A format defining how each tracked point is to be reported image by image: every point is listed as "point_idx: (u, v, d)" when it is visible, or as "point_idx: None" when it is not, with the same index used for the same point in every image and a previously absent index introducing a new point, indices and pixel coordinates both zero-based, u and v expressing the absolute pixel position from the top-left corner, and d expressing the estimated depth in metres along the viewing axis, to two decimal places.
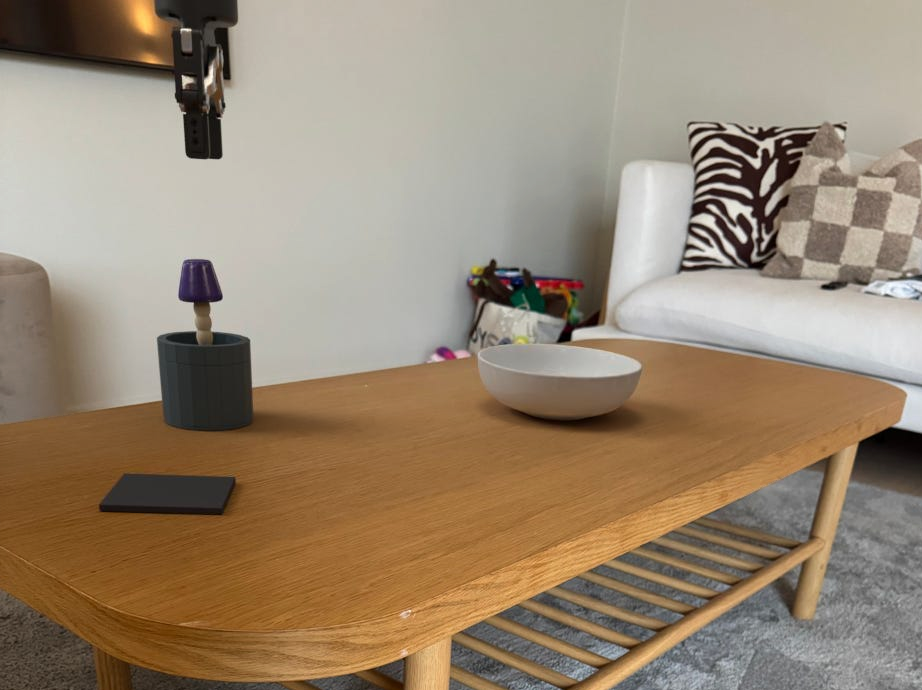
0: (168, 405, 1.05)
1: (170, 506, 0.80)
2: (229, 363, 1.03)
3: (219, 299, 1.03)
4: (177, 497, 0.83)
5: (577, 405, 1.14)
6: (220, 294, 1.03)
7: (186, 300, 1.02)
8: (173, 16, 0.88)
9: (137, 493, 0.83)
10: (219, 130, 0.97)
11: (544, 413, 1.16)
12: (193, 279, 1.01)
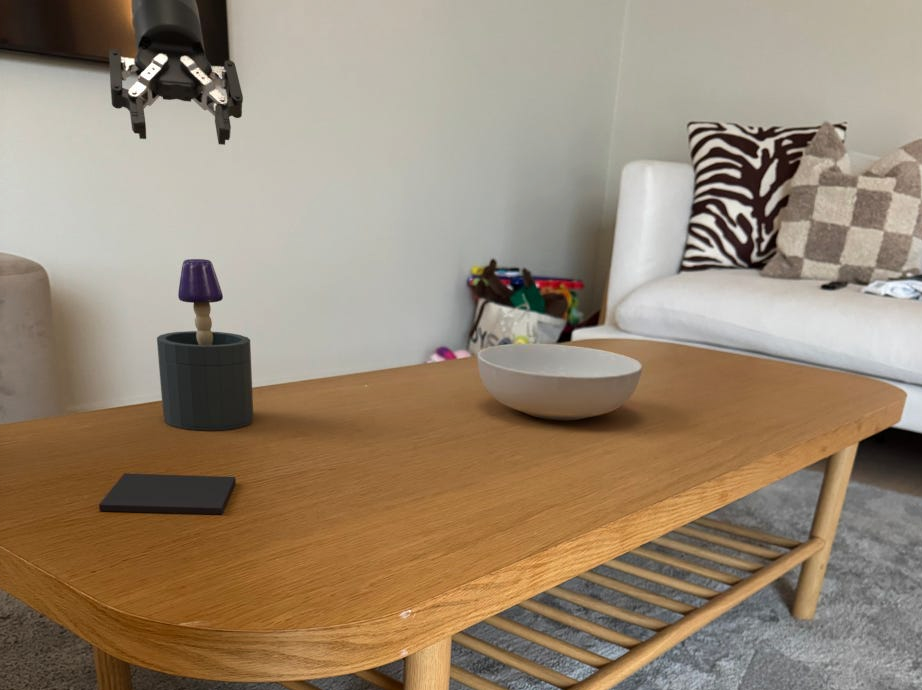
0: (168, 405, 1.05)
1: (170, 506, 0.80)
2: (229, 363, 1.03)
3: (219, 299, 1.03)
4: (177, 497, 0.83)
5: (577, 405, 1.14)
6: (220, 294, 1.03)
7: (186, 300, 1.02)
8: (192, 44, 1.09)
9: (137, 493, 0.83)
10: None
11: (544, 413, 1.16)
12: (193, 279, 1.01)
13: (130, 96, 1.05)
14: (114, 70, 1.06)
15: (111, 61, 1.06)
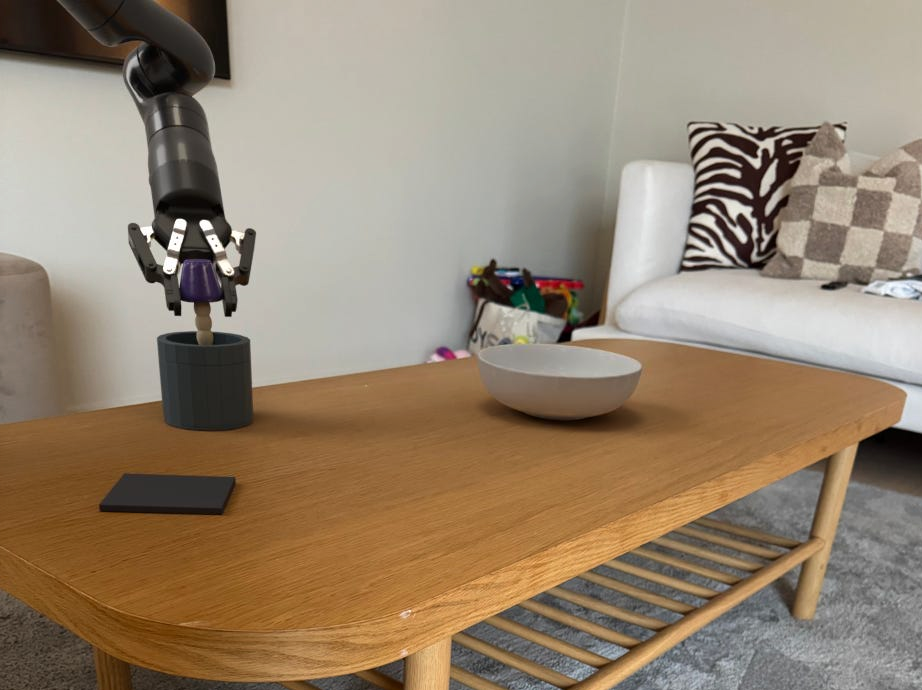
0: (168, 405, 1.05)
1: (170, 506, 0.80)
2: (229, 363, 1.03)
3: (219, 299, 1.03)
4: (177, 497, 0.83)
5: (577, 405, 1.14)
6: (220, 294, 1.03)
7: (186, 300, 1.02)
8: (211, 206, 1.05)
9: (137, 493, 0.83)
10: None
11: (544, 413, 1.16)
12: (193, 279, 1.01)
13: (165, 273, 1.01)
14: (141, 246, 1.01)
15: (134, 237, 1.01)
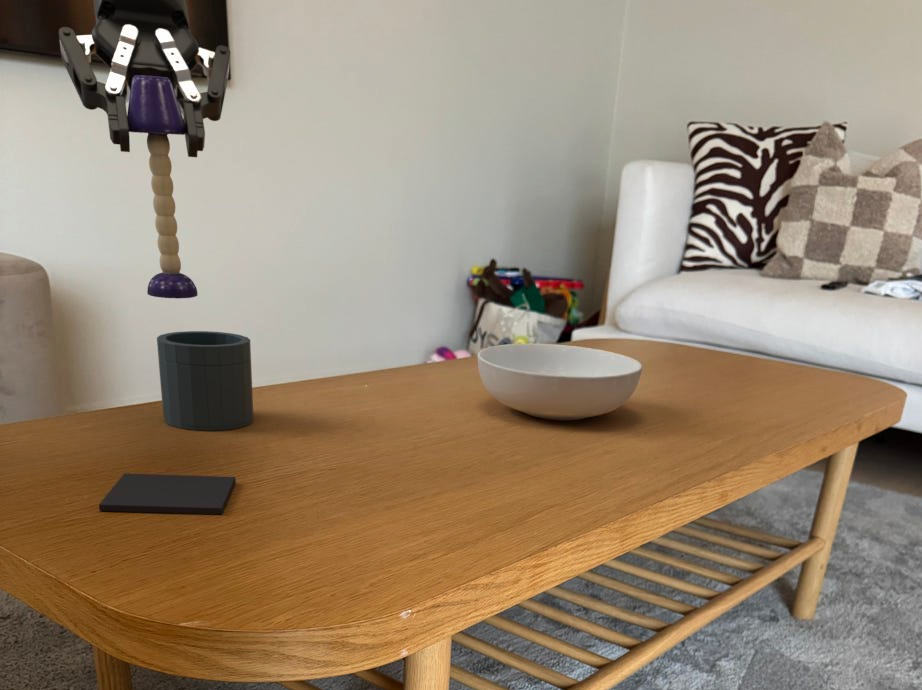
0: (168, 405, 1.05)
1: (170, 506, 0.80)
2: (229, 363, 1.03)
3: (181, 131, 0.78)
4: (177, 497, 0.83)
5: (577, 405, 1.14)
6: (182, 125, 0.78)
7: (136, 129, 0.77)
8: (171, 13, 0.80)
9: (137, 493, 0.83)
10: None
11: (544, 413, 1.16)
12: (145, 99, 0.76)
13: (108, 93, 0.76)
14: (77, 57, 0.76)
15: (67, 45, 0.76)
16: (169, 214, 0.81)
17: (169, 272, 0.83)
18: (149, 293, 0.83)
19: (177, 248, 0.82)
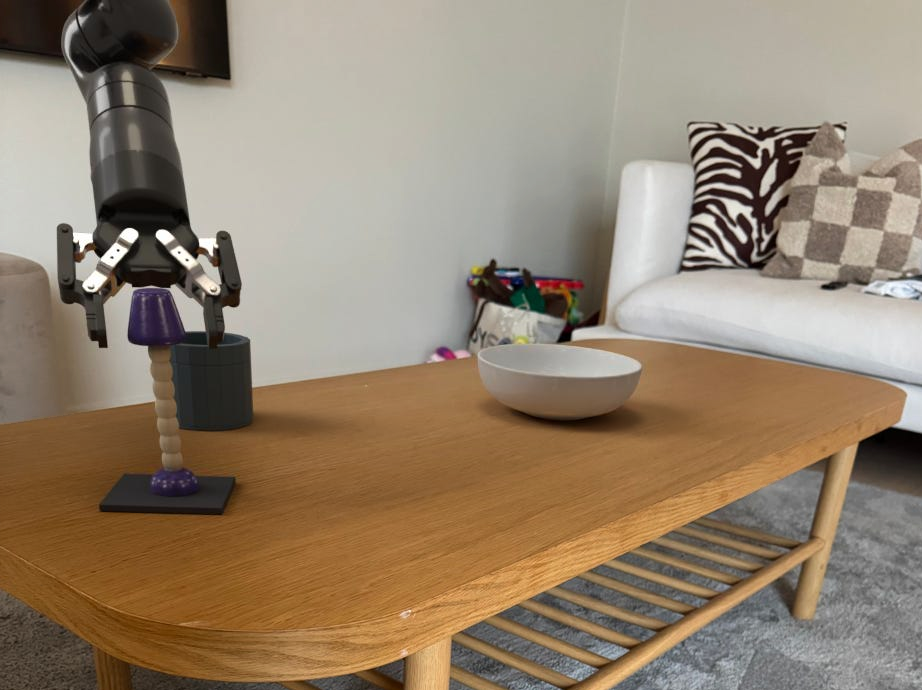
0: None
1: (170, 506, 0.80)
2: (229, 363, 1.03)
3: (181, 341, 0.78)
4: (177, 497, 0.83)
5: (577, 405, 1.14)
6: (183, 334, 0.78)
7: (137, 343, 0.77)
8: (172, 211, 0.80)
9: (137, 493, 0.83)
10: None
11: (544, 413, 1.16)
12: (145, 315, 0.76)
13: (85, 291, 0.76)
14: (63, 255, 0.76)
15: (59, 242, 0.76)
16: (170, 417, 0.81)
17: (171, 469, 0.83)
18: (151, 490, 0.83)
19: (179, 446, 0.83)
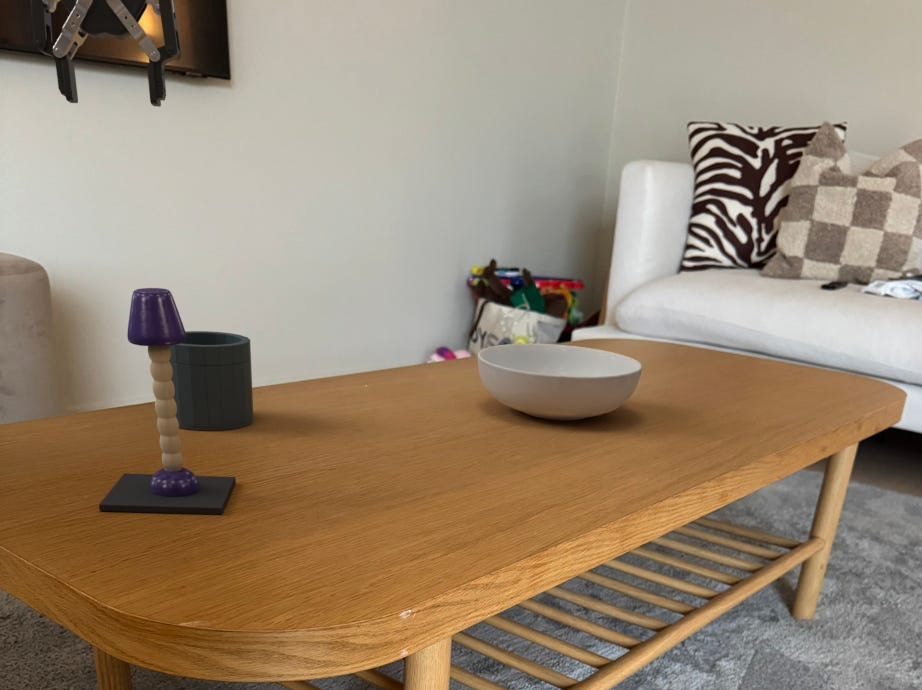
0: None
1: (170, 506, 0.80)
2: (229, 363, 1.03)
3: (181, 341, 0.78)
4: (177, 497, 0.83)
5: (577, 405, 1.14)
6: (183, 334, 0.78)
7: (137, 343, 0.77)
8: None
9: (137, 493, 0.83)
10: (74, 74, 1.01)
11: (544, 413, 1.16)
12: (145, 315, 0.76)
13: (55, 55, 0.98)
14: (36, 17, 0.97)
15: (32, 3, 0.96)
16: (170, 417, 0.81)
17: (171, 469, 0.83)
18: (151, 490, 0.83)
19: (179, 446, 0.83)
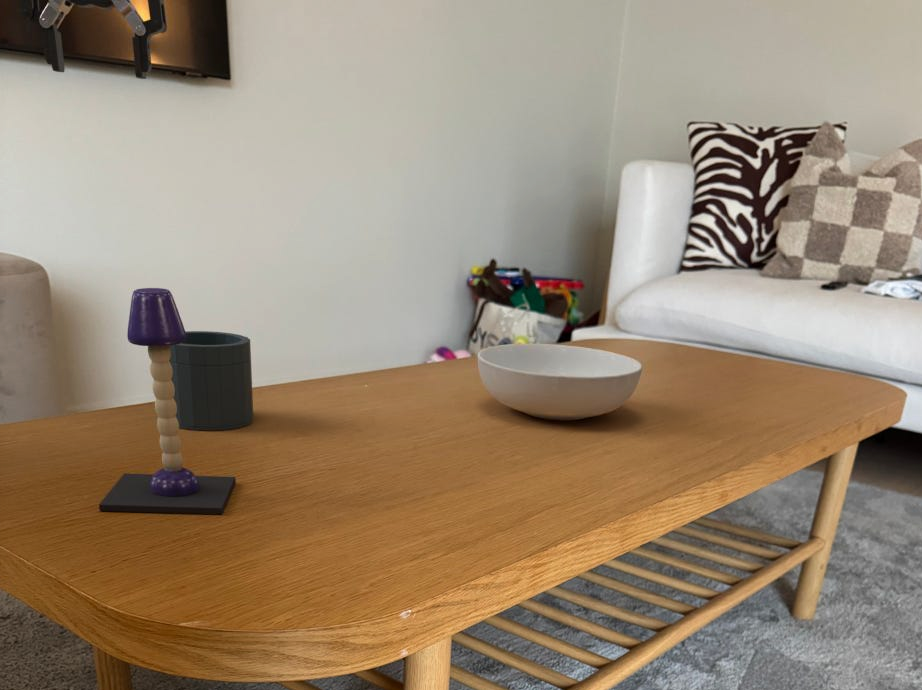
0: None
1: (170, 506, 0.80)
2: (229, 363, 1.03)
3: (181, 341, 0.78)
4: (177, 497, 0.83)
5: (577, 405, 1.14)
6: (183, 334, 0.78)
7: (137, 343, 0.77)
8: None
9: (137, 493, 0.83)
10: (61, 43, 1.02)
11: (544, 413, 1.16)
12: (145, 315, 0.76)
13: (42, 25, 1.00)
14: None
15: None
16: (170, 417, 0.81)
17: (171, 469, 0.83)
18: (151, 490, 0.83)
19: (179, 446, 0.83)
